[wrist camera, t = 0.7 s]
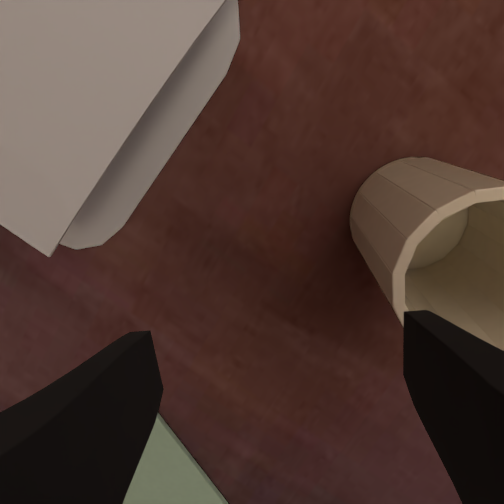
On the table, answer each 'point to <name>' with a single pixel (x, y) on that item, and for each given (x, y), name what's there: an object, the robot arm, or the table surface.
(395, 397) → the table surface
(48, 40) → the grey flat block
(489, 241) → the cup
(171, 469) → the mat
